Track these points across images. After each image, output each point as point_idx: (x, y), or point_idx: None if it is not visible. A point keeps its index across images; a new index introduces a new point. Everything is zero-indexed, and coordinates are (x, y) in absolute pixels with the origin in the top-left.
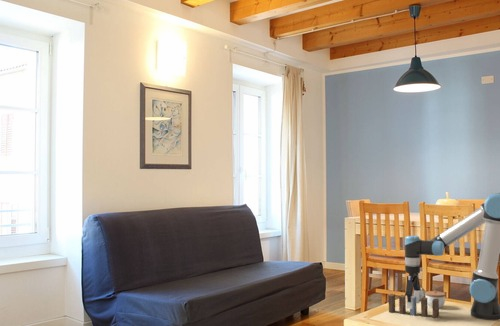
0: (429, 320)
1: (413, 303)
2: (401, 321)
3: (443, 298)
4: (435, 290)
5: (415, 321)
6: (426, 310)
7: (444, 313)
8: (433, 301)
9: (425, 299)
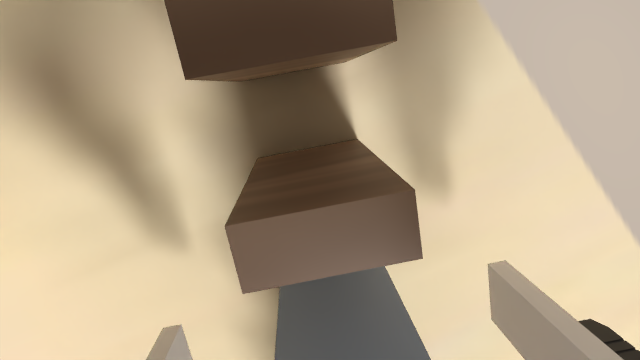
0: (459, 49)
1: (409, 319)
2: (631, 235)
3: None
4: None
5: (570, 142)
6: (305, 160)
7: (53, 38)
8: (388, 19)
9: (375, 194)
